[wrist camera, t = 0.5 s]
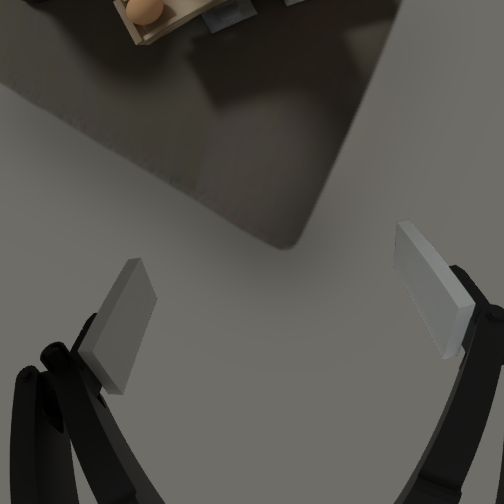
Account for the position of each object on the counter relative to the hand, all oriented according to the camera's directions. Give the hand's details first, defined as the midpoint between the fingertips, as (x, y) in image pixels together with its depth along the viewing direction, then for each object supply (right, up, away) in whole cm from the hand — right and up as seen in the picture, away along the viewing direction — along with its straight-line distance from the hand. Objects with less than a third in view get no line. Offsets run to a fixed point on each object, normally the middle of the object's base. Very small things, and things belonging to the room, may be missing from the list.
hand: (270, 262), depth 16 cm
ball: (-11, +23, +7) cm, 27 cm away
